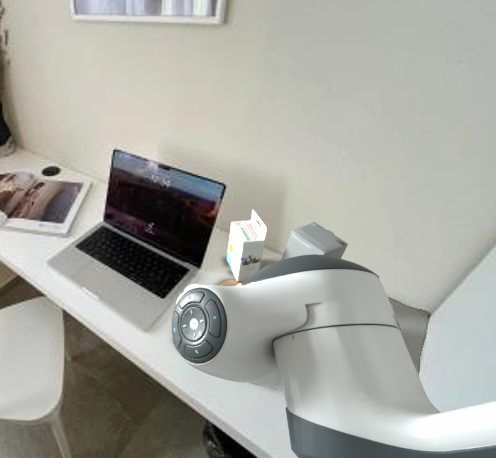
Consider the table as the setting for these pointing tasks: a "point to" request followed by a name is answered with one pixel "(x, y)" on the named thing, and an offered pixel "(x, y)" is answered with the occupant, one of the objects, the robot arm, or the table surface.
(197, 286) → the robot arm
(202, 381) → the table surface
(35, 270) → the table surface
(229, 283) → the cork coaster
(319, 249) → the cosmetic box
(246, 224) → the ink box
